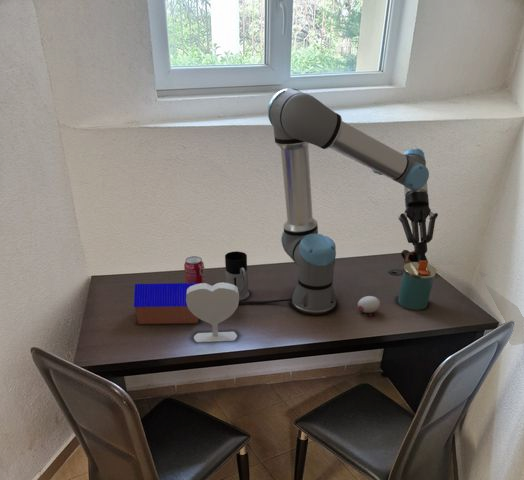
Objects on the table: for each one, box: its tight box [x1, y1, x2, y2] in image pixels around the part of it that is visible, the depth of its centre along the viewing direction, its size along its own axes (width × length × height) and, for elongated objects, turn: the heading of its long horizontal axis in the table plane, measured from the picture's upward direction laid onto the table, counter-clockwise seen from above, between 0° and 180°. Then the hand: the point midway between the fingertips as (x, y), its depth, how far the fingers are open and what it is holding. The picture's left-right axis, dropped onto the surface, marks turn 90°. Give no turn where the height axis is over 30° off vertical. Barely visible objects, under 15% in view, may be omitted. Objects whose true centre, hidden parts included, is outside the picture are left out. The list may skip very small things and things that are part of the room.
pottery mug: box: [400, 249, 429, 264], centre depth 183 cm, size 12×10×8 cm
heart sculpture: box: [186, 282, 240, 343], centre depth 139 cm, size 16×5×18 cm, turn 94°
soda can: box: [183, 255, 206, 284], centre depth 166 cm, size 7×7×12 cm
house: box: [133, 282, 200, 325], centre depth 152 cm, size 12×20×12 cm, turn 92°
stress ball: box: [357, 295, 381, 317], centre depth 156 cm, size 8×8×7 cm
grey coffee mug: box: [224, 250, 250, 301], centre depth 160 cm, size 9×14×15 cm, turn 20°
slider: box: [417, 260, 430, 275], centre depth 151 cm, size 4×3×3 cm
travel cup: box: [397, 261, 437, 311], centre depth 158 cm, size 11×11×14 cm
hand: (421, 262), depth 153 cm, fingers closed
